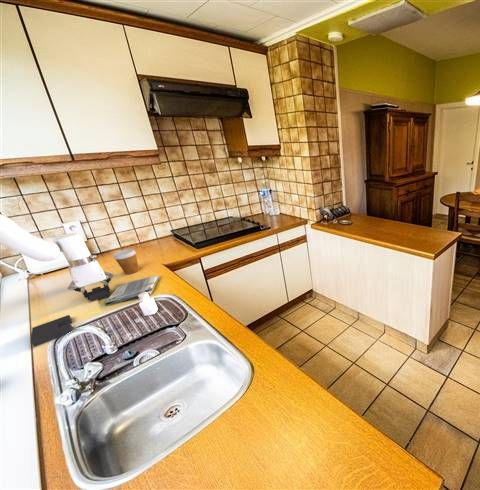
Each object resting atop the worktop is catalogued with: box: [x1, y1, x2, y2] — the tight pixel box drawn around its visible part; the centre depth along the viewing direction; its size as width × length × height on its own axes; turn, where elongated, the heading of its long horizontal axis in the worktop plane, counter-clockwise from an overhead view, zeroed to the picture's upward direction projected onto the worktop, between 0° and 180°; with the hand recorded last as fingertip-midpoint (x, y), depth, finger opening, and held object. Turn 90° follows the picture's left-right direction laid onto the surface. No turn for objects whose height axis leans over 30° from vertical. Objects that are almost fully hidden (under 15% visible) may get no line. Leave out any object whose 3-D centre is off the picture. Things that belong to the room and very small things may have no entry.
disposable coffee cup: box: [112, 248, 140, 275], centre depth 146 cm, size 10×10×12 cm
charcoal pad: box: [30, 314, 74, 348], centre depth 102 cm, size 12×10×3 cm
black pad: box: [87, 285, 110, 302], centre depth 125 cm, size 6×9×3 cm, turn 48°
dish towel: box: [103, 275, 160, 307], centre depth 128 cm, size 19×18×3 cm
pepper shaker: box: [138, 292, 159, 317], centre depth 110 cm, size 4×4×10 cm
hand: (98, 294), depth 124 cm, fingers closed on black pad, 6 cm apart
